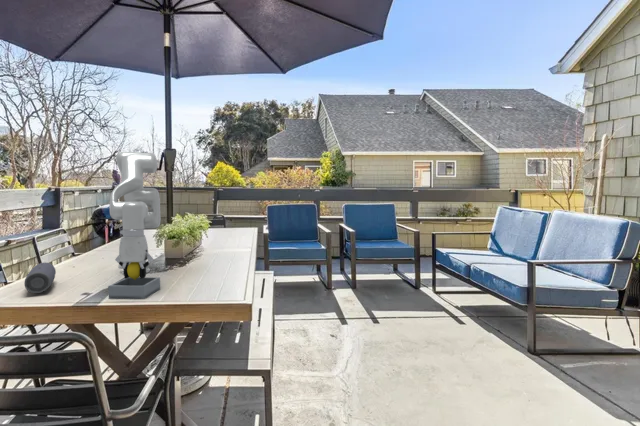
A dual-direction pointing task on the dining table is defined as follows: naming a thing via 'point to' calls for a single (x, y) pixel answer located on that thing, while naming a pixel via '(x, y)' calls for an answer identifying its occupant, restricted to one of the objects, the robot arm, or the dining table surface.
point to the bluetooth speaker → (40, 278)
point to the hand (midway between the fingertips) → (135, 277)
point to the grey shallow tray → (134, 288)
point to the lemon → (134, 270)
